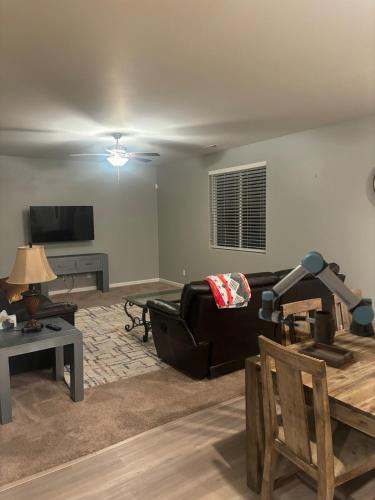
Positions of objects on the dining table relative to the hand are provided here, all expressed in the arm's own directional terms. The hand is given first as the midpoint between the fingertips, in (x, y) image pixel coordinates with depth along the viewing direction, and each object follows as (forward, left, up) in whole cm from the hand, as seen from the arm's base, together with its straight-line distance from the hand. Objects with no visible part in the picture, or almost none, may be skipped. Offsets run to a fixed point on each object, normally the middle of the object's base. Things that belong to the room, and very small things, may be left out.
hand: (310, 323), depth 225 cm
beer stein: (0, +11, -11) cm, 15 cm away
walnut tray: (+17, +19, -11) cm, 27 cm away
